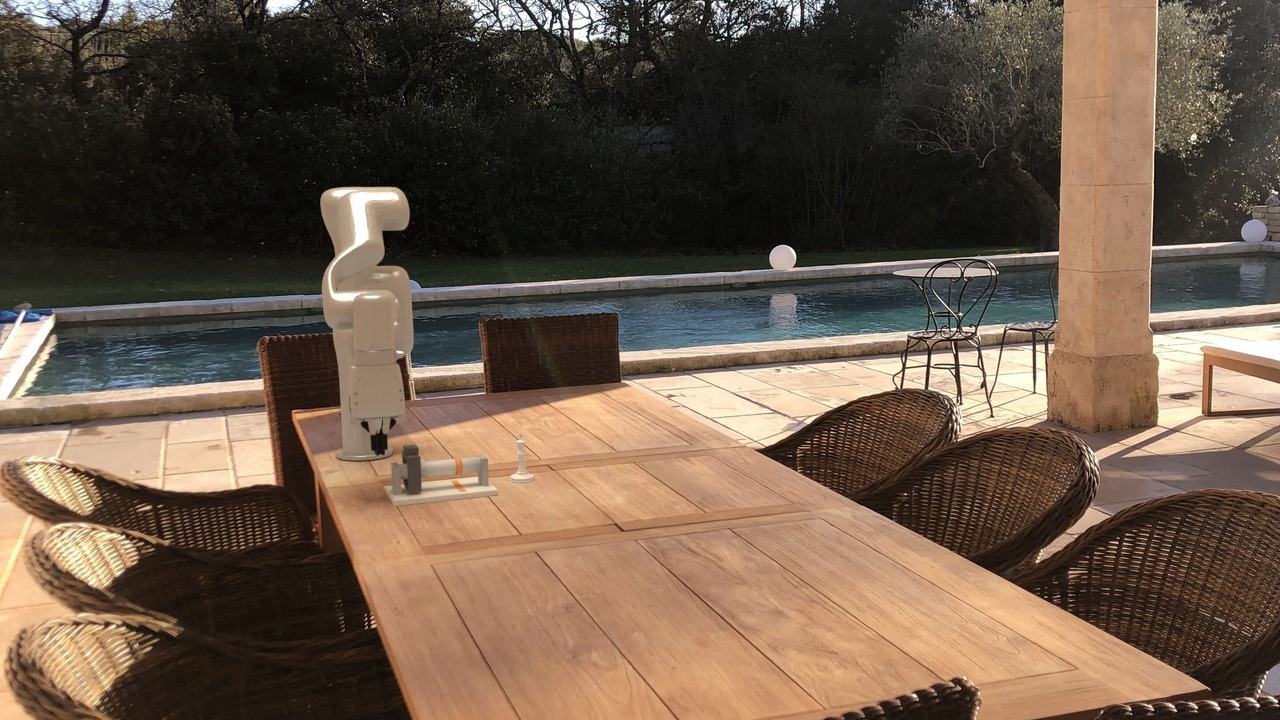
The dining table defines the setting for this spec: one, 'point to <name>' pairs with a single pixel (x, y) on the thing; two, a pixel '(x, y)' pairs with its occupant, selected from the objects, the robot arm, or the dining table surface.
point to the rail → (442, 481)
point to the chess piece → (521, 464)
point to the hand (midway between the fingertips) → (379, 453)
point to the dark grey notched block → (412, 468)
